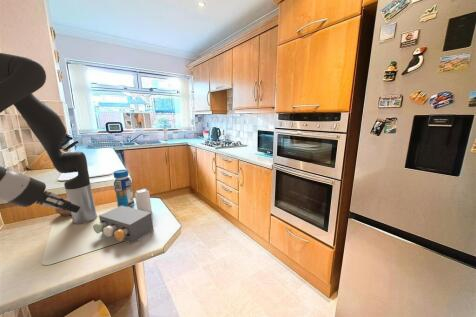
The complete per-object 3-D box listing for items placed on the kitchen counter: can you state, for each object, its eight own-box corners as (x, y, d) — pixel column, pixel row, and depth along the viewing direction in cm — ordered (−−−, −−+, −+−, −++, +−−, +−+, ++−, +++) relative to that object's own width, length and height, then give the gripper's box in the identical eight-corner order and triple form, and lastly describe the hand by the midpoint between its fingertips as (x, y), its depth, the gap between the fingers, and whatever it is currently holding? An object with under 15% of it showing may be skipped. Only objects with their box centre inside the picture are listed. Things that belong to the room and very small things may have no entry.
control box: (102, 232, 83) (99, 215, 81) (124, 221, 92) (121, 205, 90) (132, 243, 75) (129, 224, 74) (153, 229, 84) (151, 212, 82)
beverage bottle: (115, 205, 108) (109, 171, 104) (131, 200, 115) (126, 168, 110) (120, 210, 103) (114, 174, 99) (137, 204, 109) (131, 170, 105)
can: (146, 215, 96) (143, 193, 94) (135, 214, 98) (131, 192, 95) (154, 209, 102) (151, 188, 100) (143, 208, 104) (140, 187, 101)
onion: (74, 215, 105) (77, 197, 107) (81, 215, 100) (83, 195, 102) (50, 217, 97) (54, 196, 100) (56, 216, 92) (60, 195, 95)
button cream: (104, 235, 76) (102, 226, 76) (116, 229, 81) (114, 220, 80) (110, 238, 75) (109, 228, 74) (122, 231, 79) (121, 222, 78)
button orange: (114, 239, 74) (113, 230, 73) (126, 232, 78) (125, 223, 77) (121, 242, 72) (120, 232, 71) (133, 234, 77) (132, 225, 76)
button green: (94, 232, 79) (92, 223, 78) (106, 226, 83) (104, 217, 83) (100, 234, 78) (98, 225, 77) (112, 228, 82) (110, 219, 81)
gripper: (38, 178, 51) (96, 202, 65) (16, 173, 57) (73, 196, 70) (15, 205, 48) (81, 224, 61) (-6, 197, 53) (59, 216, 67)
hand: (77, 209), depth 66 cm, fingers closed
